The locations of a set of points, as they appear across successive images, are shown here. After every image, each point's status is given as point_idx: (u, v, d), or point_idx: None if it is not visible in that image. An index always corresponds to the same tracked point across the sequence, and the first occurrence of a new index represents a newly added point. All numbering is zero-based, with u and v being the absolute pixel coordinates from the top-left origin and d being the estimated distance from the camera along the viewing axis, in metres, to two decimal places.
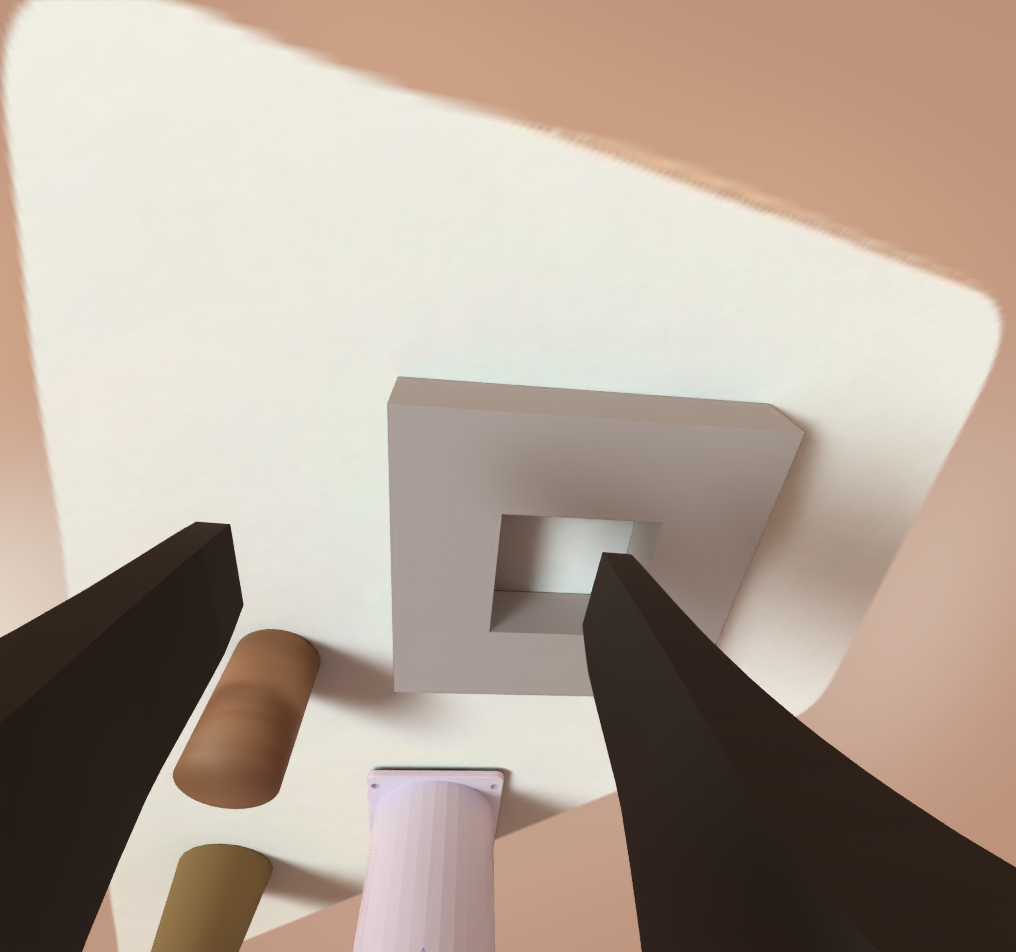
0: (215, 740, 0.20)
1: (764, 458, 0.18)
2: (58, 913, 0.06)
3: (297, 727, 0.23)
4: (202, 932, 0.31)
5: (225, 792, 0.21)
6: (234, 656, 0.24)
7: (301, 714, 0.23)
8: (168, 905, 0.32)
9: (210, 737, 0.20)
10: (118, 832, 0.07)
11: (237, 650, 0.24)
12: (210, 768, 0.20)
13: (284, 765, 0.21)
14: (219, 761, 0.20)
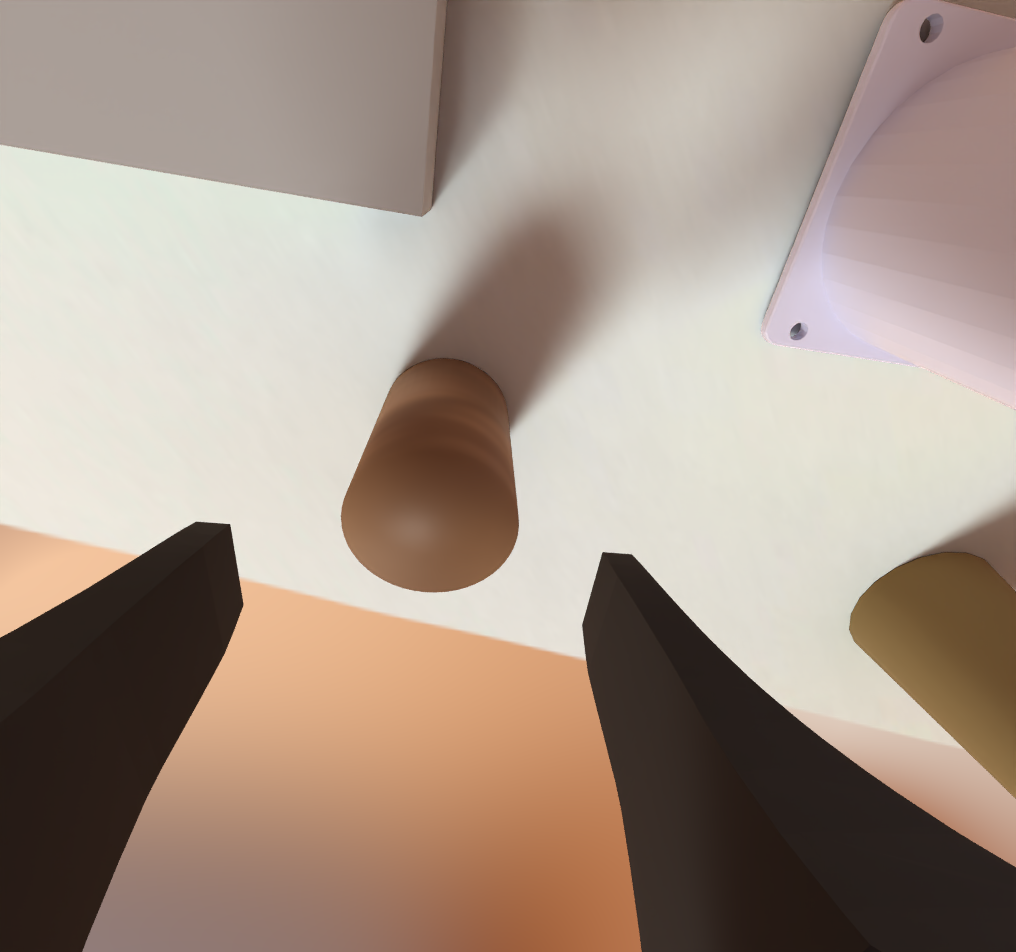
0: None
1: None
2: (59, 913, 0.06)
3: (445, 405, 0.13)
4: (965, 676, 0.18)
5: (464, 536, 0.12)
6: None
7: (445, 396, 0.13)
8: (906, 691, 0.21)
9: None
10: (118, 832, 0.07)
11: None
12: (390, 539, 0.12)
13: (435, 436, 0.11)
14: (371, 522, 0.12)
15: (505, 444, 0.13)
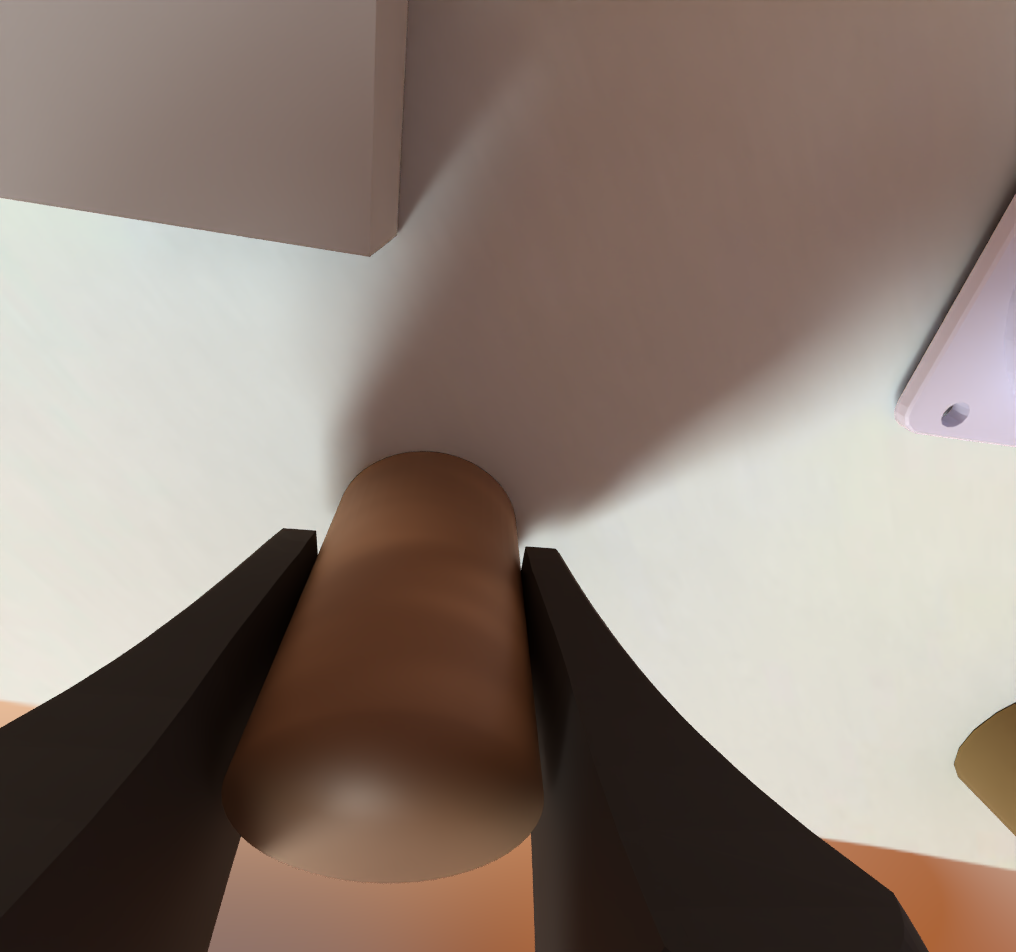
0: None
1: None
2: (194, 914, 0.06)
3: (417, 568, 0.08)
4: None
5: (448, 820, 0.07)
6: None
7: (419, 543, 0.08)
8: None
9: None
10: (233, 834, 0.07)
11: None
12: (316, 827, 0.07)
13: (391, 665, 0.06)
14: (278, 808, 0.07)
15: (517, 621, 0.08)
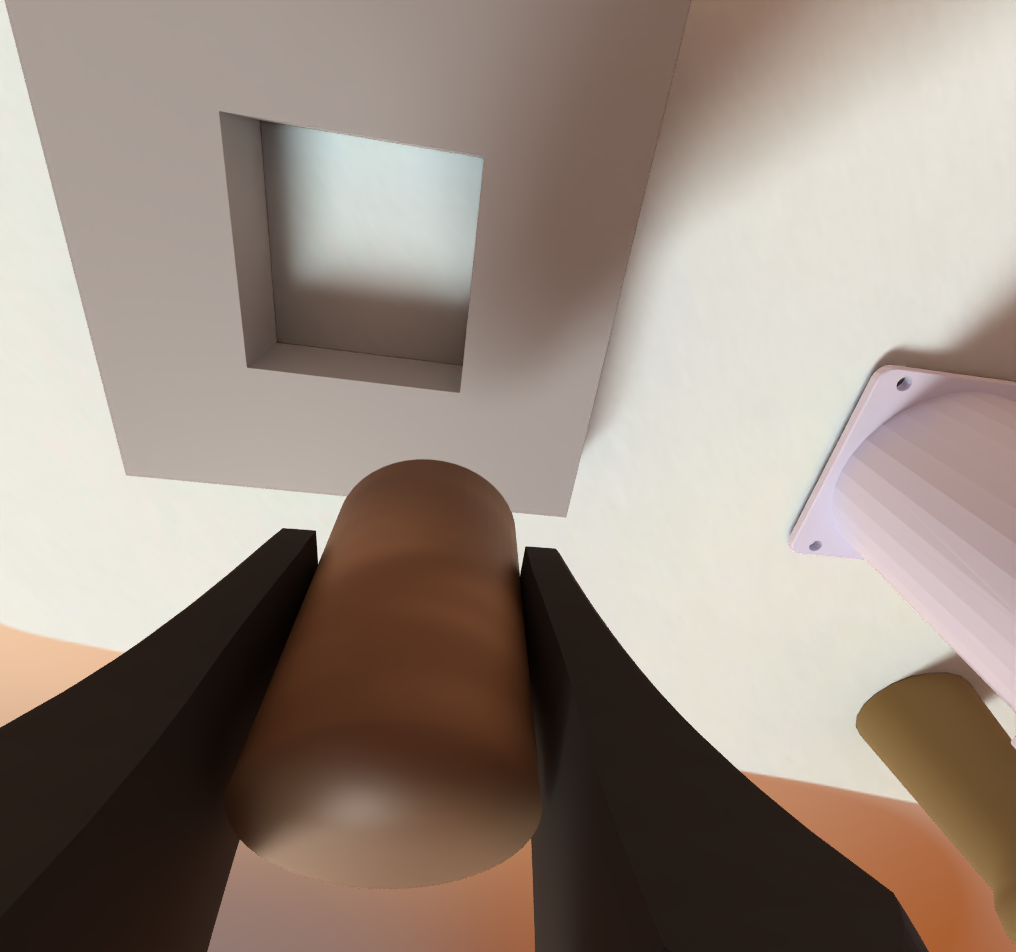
0: None
1: None
2: (194, 913, 0.06)
3: (410, 578, 0.08)
4: (944, 781, 0.24)
5: (449, 826, 0.07)
6: None
7: (412, 552, 0.08)
8: (901, 782, 0.27)
9: None
10: (233, 834, 0.07)
11: None
12: (319, 836, 0.07)
13: (383, 675, 0.06)
14: (281, 819, 0.07)
15: (512, 626, 0.08)
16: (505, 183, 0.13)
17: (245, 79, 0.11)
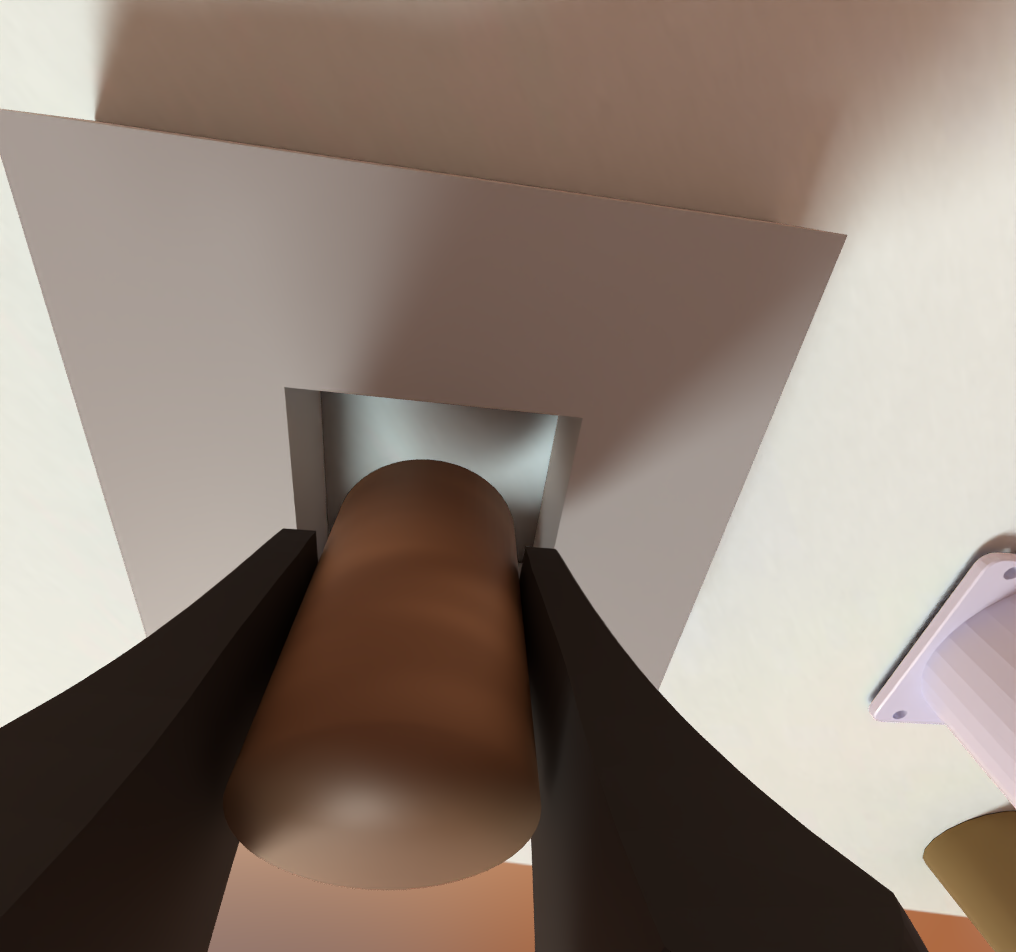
0: None
1: (83, 196, 0.08)
2: (195, 912, 0.06)
3: (408, 578, 0.08)
4: None
5: (448, 826, 0.07)
6: None
7: (410, 552, 0.08)
8: (977, 928, 0.25)
9: None
10: (233, 834, 0.07)
11: None
12: (318, 838, 0.07)
13: (380, 675, 0.06)
14: (280, 821, 0.07)
15: (511, 626, 0.08)
16: (603, 441, 0.11)
17: (316, 357, 0.10)
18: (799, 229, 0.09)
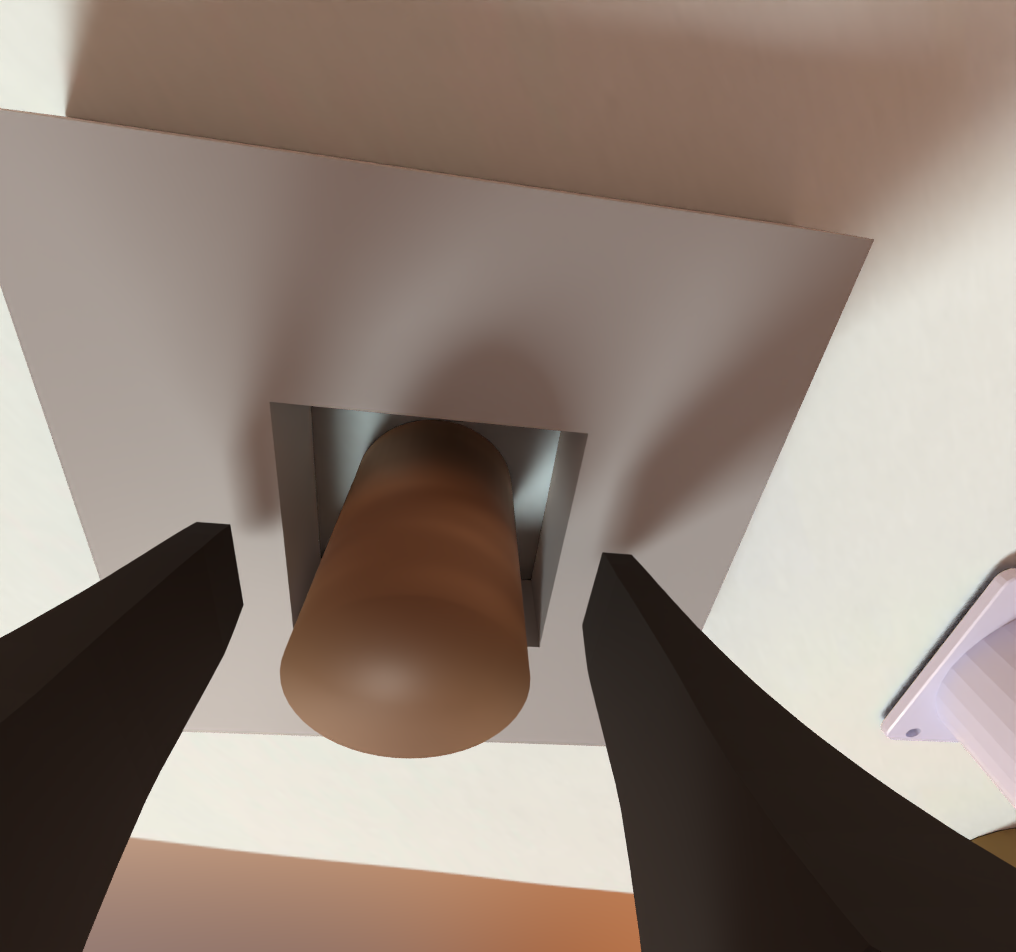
0: None
1: (47, 198, 0.08)
2: (58, 914, 0.06)
3: (423, 504, 0.09)
4: None
5: (456, 695, 0.09)
6: None
7: (424, 486, 0.10)
8: None
9: None
10: (118, 832, 0.07)
11: None
12: (353, 704, 0.09)
13: (404, 567, 0.08)
14: (323, 686, 0.08)
15: (507, 547, 0.10)
16: (610, 458, 0.10)
17: (303, 370, 0.09)
18: (822, 233, 0.09)
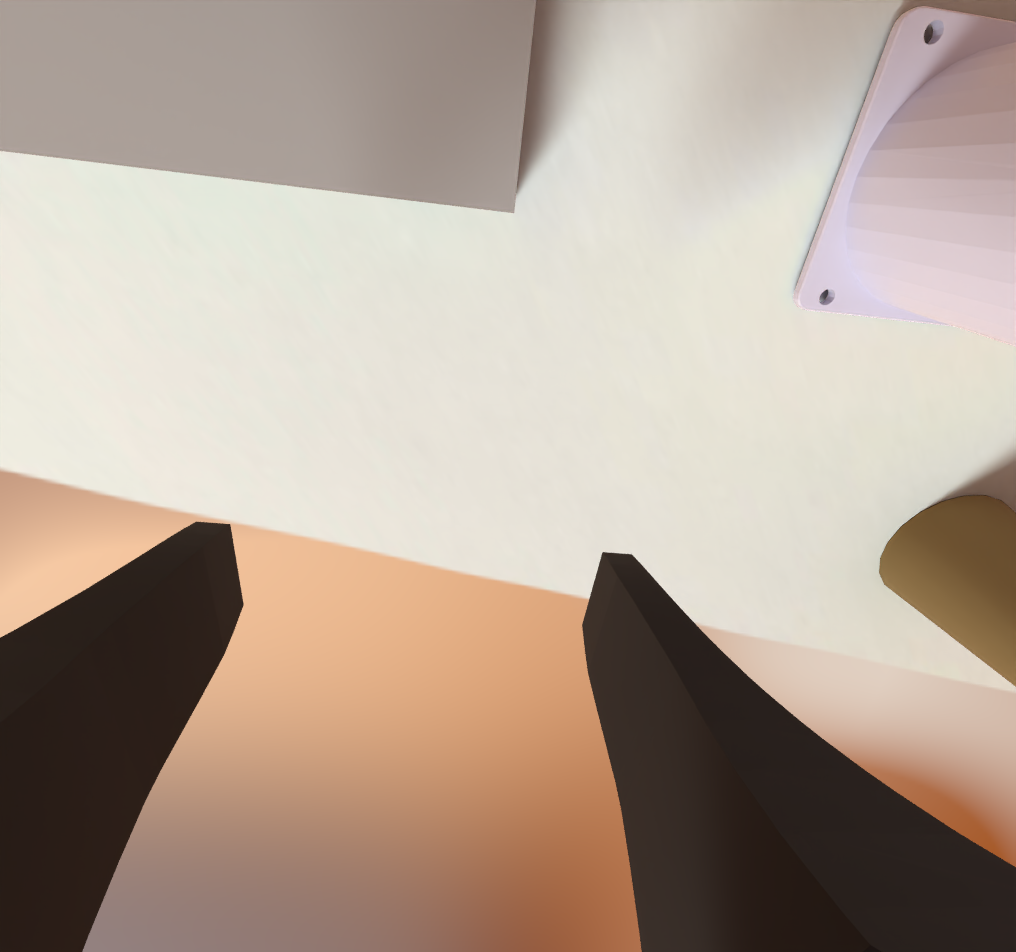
0: None
1: None
2: (59, 912, 0.06)
3: None
4: (988, 600, 0.20)
5: None
6: None
7: None
8: (935, 622, 0.23)
9: None
10: (118, 832, 0.07)
11: None
12: None
13: None
14: None
15: None
16: None
17: None
18: None
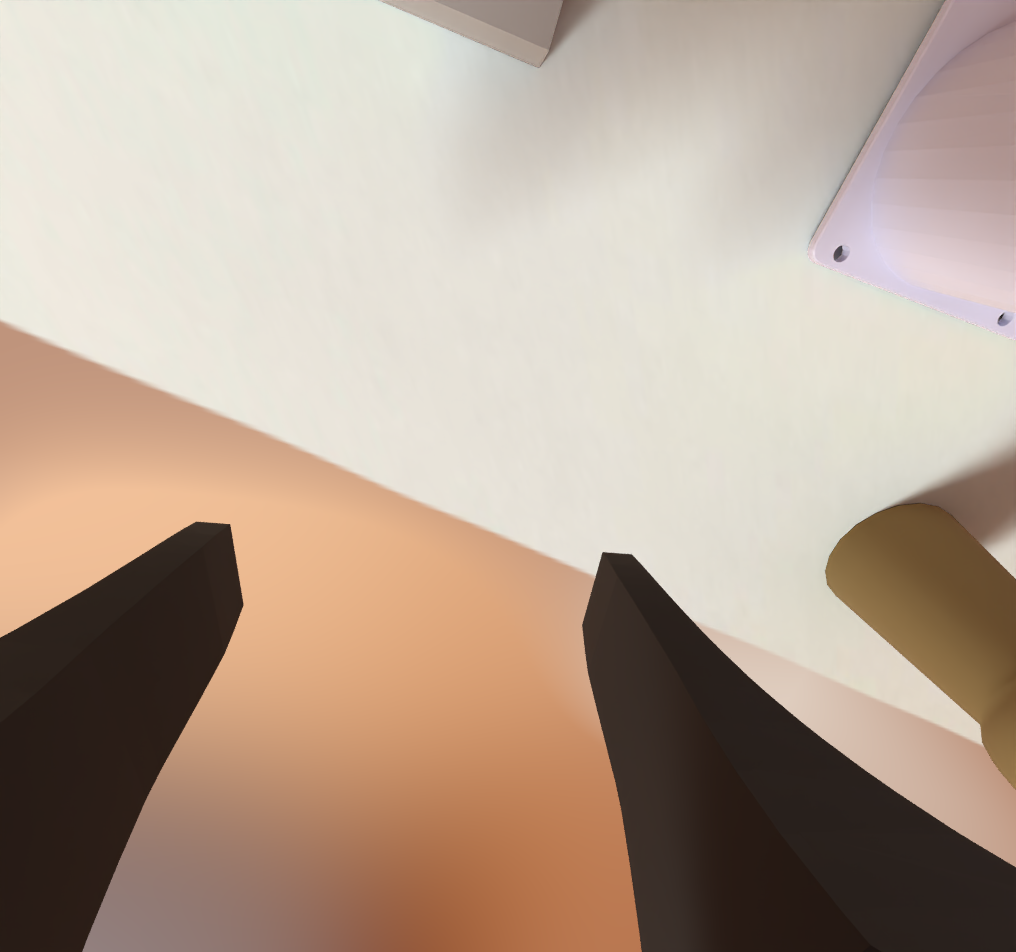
0: None
1: None
2: (57, 913, 0.06)
3: None
4: (932, 601, 0.20)
5: None
6: None
7: None
8: (872, 624, 0.23)
9: None
10: (118, 832, 0.07)
11: None
12: None
13: None
14: None
15: None
16: None
17: None
18: None
